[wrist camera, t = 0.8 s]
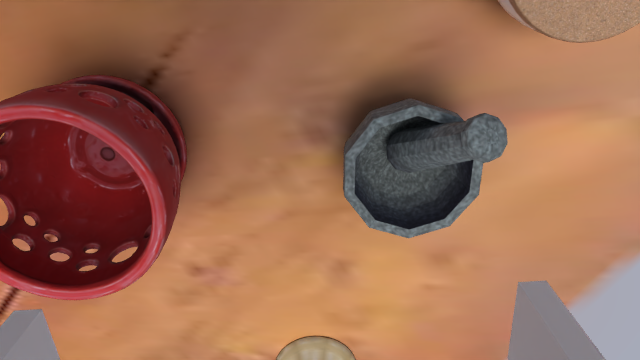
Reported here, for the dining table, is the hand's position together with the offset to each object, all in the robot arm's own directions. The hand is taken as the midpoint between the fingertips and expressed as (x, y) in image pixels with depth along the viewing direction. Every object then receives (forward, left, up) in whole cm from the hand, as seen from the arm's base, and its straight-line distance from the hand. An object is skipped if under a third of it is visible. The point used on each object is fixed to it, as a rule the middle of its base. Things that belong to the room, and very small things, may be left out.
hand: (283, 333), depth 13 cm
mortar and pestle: (+5, +7, -26) cm, 28 cm away
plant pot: (0, -15, -26) cm, 30 cm away
